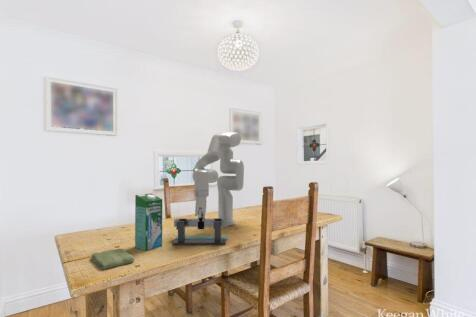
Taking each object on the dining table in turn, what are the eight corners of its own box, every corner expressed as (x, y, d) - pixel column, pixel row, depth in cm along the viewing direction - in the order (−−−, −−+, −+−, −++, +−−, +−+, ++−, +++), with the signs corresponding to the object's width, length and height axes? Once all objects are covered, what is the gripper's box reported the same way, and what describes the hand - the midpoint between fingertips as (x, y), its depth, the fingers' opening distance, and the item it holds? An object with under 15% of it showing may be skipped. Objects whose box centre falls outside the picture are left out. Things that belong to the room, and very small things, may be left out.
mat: (176, 237, 141) (176, 236, 141) (226, 237, 142) (226, 236, 142) (174, 240, 136) (174, 239, 136) (226, 240, 137) (226, 239, 137)
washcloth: (121, 252, 120) (121, 245, 120) (136, 263, 107) (136, 255, 107) (89, 259, 111) (89, 251, 111) (100, 272, 98) (100, 264, 98)
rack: (174, 241, 135) (175, 218, 135) (225, 241, 135) (225, 218, 135) (171, 246, 128) (171, 221, 128) (225, 245, 128) (225, 221, 128)
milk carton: (145, 250, 121) (146, 196, 121) (134, 247, 126) (135, 194, 126) (162, 245, 128) (162, 194, 128) (151, 242, 133) (151, 193, 134)
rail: (175, 225, 141) (175, 218, 141) (227, 225, 141) (227, 218, 141) (174, 226, 137) (174, 220, 137) (227, 226, 138) (227, 219, 138)
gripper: (196, 191, 148) (196, 224, 147) (192, 195, 131) (191, 232, 131) (209, 191, 148) (209, 224, 147) (207, 195, 131) (207, 232, 131)
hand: (201, 227), depth 139 cm, fingers closed on rail, 3 cm apart
